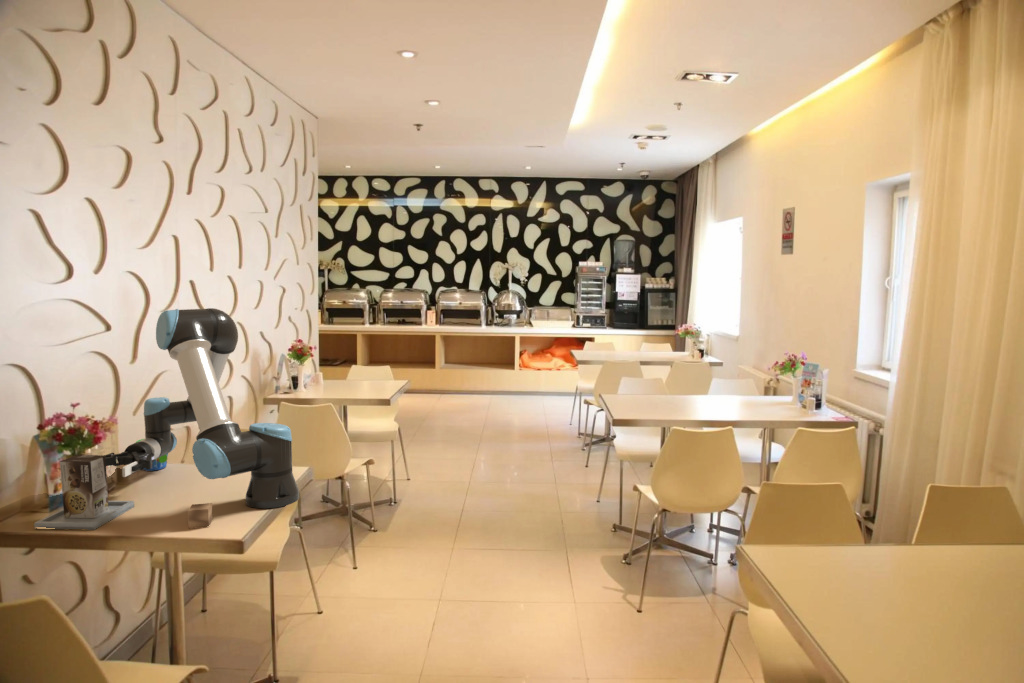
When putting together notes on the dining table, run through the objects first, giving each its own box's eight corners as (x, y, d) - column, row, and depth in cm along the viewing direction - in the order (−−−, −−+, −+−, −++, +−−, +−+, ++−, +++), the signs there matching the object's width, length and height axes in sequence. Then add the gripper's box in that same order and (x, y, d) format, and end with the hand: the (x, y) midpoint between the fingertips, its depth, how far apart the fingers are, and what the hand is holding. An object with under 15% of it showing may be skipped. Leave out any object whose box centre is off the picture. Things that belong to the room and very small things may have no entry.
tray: (134, 506, 195) (133, 500, 195) (94, 530, 177) (93, 523, 177) (80, 506, 195) (79, 500, 195) (34, 529, 177) (34, 522, 177)
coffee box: (110, 511, 189) (106, 455, 188) (94, 519, 183) (91, 461, 181) (79, 510, 190) (75, 454, 188) (62, 518, 183) (58, 460, 182)
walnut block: (212, 520, 184) (211, 503, 184) (208, 527, 179) (208, 509, 179) (192, 522, 183) (192, 504, 183) (188, 528, 178) (187, 510, 178)
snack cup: (131, 466, 236) (129, 438, 235) (163, 461, 243) (162, 433, 242) (144, 476, 225) (142, 446, 224) (177, 470, 232) (176, 441, 231)
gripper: (181, 464, 213) (143, 485, 192) (103, 464, 214) (57, 484, 193) (180, 441, 213) (142, 459, 191) (102, 441, 213) (56, 458, 192)
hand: (100, 472), depth 192 cm, fingers open, 13 cm apart
